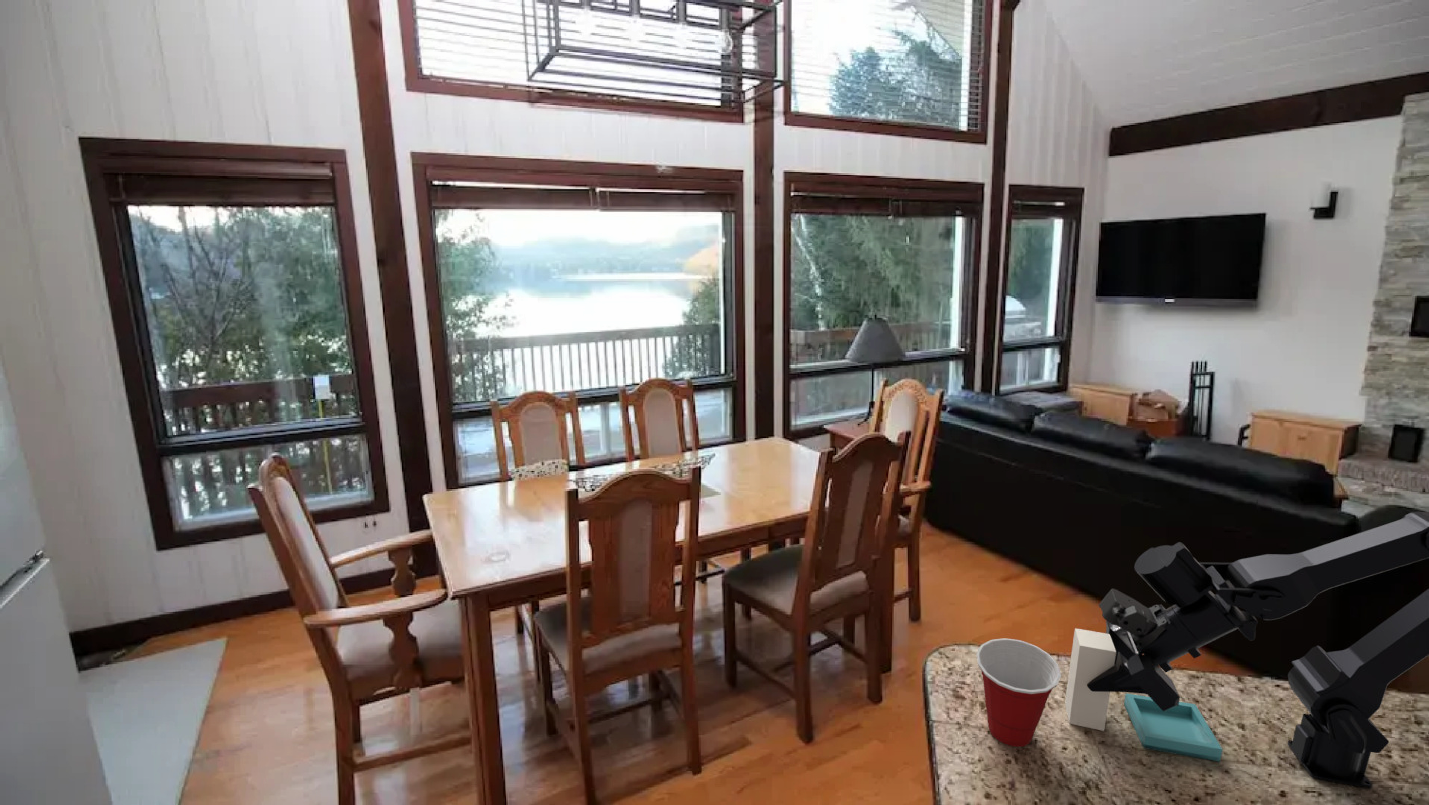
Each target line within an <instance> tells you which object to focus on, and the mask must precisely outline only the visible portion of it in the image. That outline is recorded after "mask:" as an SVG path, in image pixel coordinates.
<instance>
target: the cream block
mask: <svg viewBox="0 0 1429 805" xmlns="http://www.w3.org/2000/svg"><path fill="white" fill-rule="evenodd" d="M1115 656H1116V650H1115V647H1114V645H1113V642H1112V639H1111V636H1110V634H1106V632H1099V631H1094V630H1088V629H1081V628H1074V633H1073V641H1072V647H1071V656H1070V663H1069V671H1068V677H1067V678H1068V679H1067V686H1066V693H1065V698H1064V700H1065V701H1064V707H1065V710H1066V714H1067V720H1068V724H1070V725H1075V726H1079V727H1083V728H1088V729H1093V730H1098V731H1103V732H1105V727H1106V722H1107V714H1108V709H1109V708H1108V707H1109V701H1110V695H1111V692H1093V691H1091V690H1090V689H1089V688H1088V687H1087V684H1088V683H1089V682H1090V681H1092V680H1093V679H1094V678H1096V677H1097V676H1099V675H1100V674H1102V673H1103V672H1105V671H1106V670H1108V669H1109V668H1111V667H1113V666H1114V663H1115Z"/></svg>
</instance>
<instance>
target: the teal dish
mask: <svg viewBox="0 0 1429 805" xmlns="http://www.w3.org/2000/svg"><path fill="white" fill-rule="evenodd" d="M1123 706H1124V708H1125V710H1126V713H1127V715H1128V718H1129V720H1130V721H1131V724H1132V726H1133V728H1134V730H1135V732H1136V734H1137V736H1138V739H1139V741H1140V744H1141V746H1142V748H1143V749H1146V750H1151V751H1152V750H1153V751H1159V752H1164V753H1169V754H1175V755H1180V756H1185V757H1191V758H1197V759H1203V760H1207V761H1208V760H1209V761H1213V762H1218V763H1219V762H1221V759H1222V754H1223V748H1222V746H1221V744H1220V743H1219V741H1218V738H1216V736H1215V734H1214V732H1213V731H1212V729H1211V728H1210V726H1209V724H1208V723H1207V721H1206V719H1205V718H1204V716H1203V715H1202V713H1201V711H1200V710H1199V708H1198V707H1197V704H1196V703H1189V702H1183V701H1179V705H1178V706H1176V707H1174V708H1172V709H1170V710H1168V711H1166V712H1164V711H1162V710H1161V709H1160V707H1159V706H1158V705H1157V704H1156V703H1155V702H1154V701H1153V700H1152V699H1151V698H1150V697H1149V696H1146V695H1139V694H1135V693H1129V692H1125V695H1124V702H1123Z"/></svg>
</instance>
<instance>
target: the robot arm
mask: <svg viewBox="0 0 1429 805" xmlns="http://www.w3.org/2000/svg"><path fill="white" fill-rule="evenodd" d="M1427 559H1429V511H1428V512H1427V511H1412V512H1410V513H1408V514H1405V515H1403V517H1402V518H1401V519H1398V520H1396V521H1392V522H1389V523H1386V524H1384V525H1380V526H1378V527H1374V528H1371V529H1368V530H1364V531H1362V532H1359V533H1356V534H1353V535H1350V536H1348V537H1344V538H1341V539H1338V540H1335V541H1332V542H1330V543H1326V544H1323V545H1319V546H1317V547H1314V548H1310V549H1307V550H1305V551H1301V552H1298V553H1297V552H1296V553H1292V554H1277V553H1276V554H1271V553H1270V554H1269V553H1267V554H1261V555H1256V556H1251V557H1247V558H1245V557H1244V558H1241V559H1238V560H1235V561H1234V562H1208V561H1207V562H1201V561H1198V560H1197V559H1196V558H1195V557H1194V556H1193V554H1192V553H1191V552H1190V550H1189V549H1188V548H1187V547H1186V545H1185V544H1184V543H1182V542H1176V543H1175V544H1174V545H1168V544H1166V545H1165V544H1164V545H1159V546H1156V547H1150V548H1148V549H1147V550H1146V551H1144V552H1143V553H1142V554H1141V555H1140V556H1138V558H1137V559H1136V561H1135V563H1134V571H1135V572H1136V573H1137V574H1138V575H1139V576H1140V577H1141V578H1142V580H1144V581H1145V582H1146V583H1147V585H1148V586H1149V587H1150V588H1151V589H1153V591H1154V592H1155V593H1156V594H1157V595H1158V596H1159V597H1160V598H1161V599H1162V601H1163V602H1165V603H1166V604H1169V605H1172V606H1169V607H1168V608H1165V607H1164V606H1163V605H1162V604H1155V605H1152V606H1150V607H1147V606H1145V605H1143V604H1142V603H1141V602H1139V601H1137V600H1136V599H1134V598H1133V597H1131V596H1129V595H1127V594H1125V593H1123V592H1121V591H1119V590H1118V589H1116V588H1111V589H1110V590H1109V591H1108V592H1107V594H1106V595H1105V596H1104V597H1103V599H1102V600H1101V601H1100V603H1099V604H1098V607H1099V608H1100V609H1101V612H1102V613H1101V616H1102V618H1103V620H1105V628H1106V629H1105V633H1106V634H1110V636H1111V639H1112V642H1113V645H1114V647H1115V650H1116V656H1115V663H1114V666H1113V667H1111V668H1109V669H1108V670H1106V671H1105V672H1103V673H1102V674H1100V675H1099V676H1097V677H1096V678H1094V679H1093V680H1092V681H1090V682H1089V683H1088V684H1087V687H1088V688H1089V689H1090V690H1091V691H1093V692H1110V693H1129V694H1142V695H1147V697H1150V698H1151V699H1152V700H1153V701H1154V702H1155V703H1156V704H1157V705H1158V706H1159V707H1160V709H1161V710H1162V711H1164V712H1166V711H1168V710H1170V709H1172V708H1174V707H1176V706H1178V705H1179V702H1180V699H1181V696H1180V694H1179V692H1178V690H1177V688H1176V685H1175V683H1174V681H1173V679H1171V677H1170V676H1168V674H1167V672H1169V671H1171V670H1173V667H1172V665H1171V662H1173V661H1175V660H1178V659H1179V658H1181V657H1183V656H1185V655H1187V654H1189V655H1190V656H1191V657H1192V658H1193V659H1196V658H1198V657H1200V656H1202V653H1201V652H1200V650H1199V649H1200V648H1201V647H1203V646H1204V647H1205V645H1207V644H1210V643H1212V642H1213V641H1214V642H1215V641H1216V640H1218V639H1220V638H1221V637H1224V636H1225V635H1226V636H1227V635H1228V634H1230V633H1232V632H1234V631H1236V630H1237V629H1238V631H1240V633H1241V634H1243V636H1244V637H1245V638H1247V640H1249V641H1250V642H1251V641H1252V642H1253V641H1255V639H1256V627H1257V625H1258V622H1259V621H1258V620H1257V618H1259V619H1262V620H1264V621H1273V620H1279V619H1283V618H1284V617H1287V616H1289V615H1291V614H1293V613H1295V612H1297V611H1299V610H1302V609H1304V608H1305V607H1307V606H1309V605H1310V604H1311V603H1312V602H1313V600H1314V599H1316V597H1317V596H1318V595H1319V594H1321V593H1323V592H1325V591H1328V590H1330V589H1333V588H1336V587H1339V586H1342V585H1346V584H1349V583H1353V582H1356V581H1359V580H1362V579H1365V578H1368V577H1373V576H1375V575H1378V574H1381V573H1385V572H1388V571H1392V570H1395V569H1398V568H1400V567H1404V566H1408V565H1411V564H1413V563H1417V562H1420V561H1423V560H1427ZM1213 590H1214V591H1215V593H1216V594H1214V593H1213V592H1212V591H1213ZM1239 608H1240V609H1242V610H1240V609H1239ZM1243 610H1244V611H1243ZM1427 657H1429V588H1428V589H1425V591H1424V592H1422V593H1421V594H1419V595H1418V596H1417V597H1416V598H1414V599H1413V600H1412V601H1410V602H1409V603H1407V604H1406V605H1404V606H1403V607H1402V608H1401V609H1399V610H1398V611H1397V612H1395V613H1394V614H1393V615H1392V614H1391V616H1390V617H1388V618H1386V620H1384V621H1383V622H1381V623H1380V624H1379V625H1377V626H1376V627H1375V628H1374V629H1372V630H1371V631H1369V632H1368V633H1367V634H1365V635H1364V636H1363V637H1361V638H1360V639H1358V641H1356V642H1355V643H1353V644H1352V645H1350V646H1349V647H1347V648H1345V649H1343V650H1335V651H1328V652H1326V651H1325V650H1324V649H1323V648H1322V646H1320V645H1315V646H1313V647H1311V648H1310V649H1309V651H1308V652H1307V653H1306V654H1305V655H1303V656H1302V657H1300V658H1299V659H1296V660H1292V661H1291V664H1292V665H1293V667H1292V668H1291V669H1290V670H1289V671H1288V673H1287V677H1288V685H1289V687H1290V689H1291V691H1293V693H1294V695H1296V697H1297V698H1298V700H1299V701H1300V702H1301V704H1302V705H1303V706H1304V707H1305V709H1306V710H1307V711H1308V712H1309V714H1308V713H1303V714H1302V716H1301V721H1300V723H1297V724H1296V726H1295V729H1294V733H1293V738H1292V740H1288V741H1287V746H1288V747H1289V748H1290V750H1291V751H1292V753H1293V754H1294V755H1295V756H1296V758H1297V759H1298V761H1300V763H1301V765H1302V766H1303V768H1304V769H1305V770H1306V771H1307V773H1308V774H1309V775H1310V776H1311V777H1312V778H1313V779H1317V780H1322V781H1327V782H1331V783H1340V784H1342V785H1343V784H1345V785H1348V786H1349V785H1350V786H1355V787H1360V788H1367V789H1372V788H1373V785H1374V784H1373V782H1372V781H1371V780H1370V779H1369V777H1367V776H1366V772H1367V769H1368V765H1369V761H1370V758H1371V754H1372V753H1374V754H1380V753H1381V752H1382V751H1383V750H1384V749H1385V748H1386V746H1388V744H1389V743H1390V742H1389V739H1387V737H1386V736H1385V734H1383V733H1382V732H1381V730H1380V729H1379V728H1378V727H1377V726H1376V725H1375V724H1374V723H1373V721H1372V720H1371V717H1373V715H1374V714H1376V713H1377V711H1378V710H1380V708H1381V705H1382V702H1383V700H1384V697H1385V693H1386V691H1387V688H1388V685H1389V684H1390V683H1392V682H1393V681H1394V680H1395V679H1397V678H1398V677H1400V676H1401V675H1402V674H1404V673H1405V672H1407V671H1409V670H1410V669H1411V668H1412V667H1414V666H1415V665H1417V664H1418V663H1419V662H1421V661H1423V660H1424V659H1425V658H1427Z"/></svg>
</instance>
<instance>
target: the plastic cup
mask: <svg viewBox="0 0 1429 805" xmlns="http://www.w3.org/2000/svg"><path fill="white" fill-rule="evenodd" d="M975 655H976V659H977V660H976V661H977V666H978V668H979V669H980V671H981V675H982V681H983V691H984V702H985V709H986V715H987V716H986V717H987V725H988V728H989V732H990V733H991V735H992V737H993V738H995V739H997V741H998V742H1001V743H1003V744H1005V745H1007V746H1010V747H1014V748H1015V747H1016V748H1018V747H1019V748H1020V747H1026V746H1027V745H1029V744H1030V742H1032V740H1033V738H1034V735H1035V733H1036V729H1037V727H1038V725H1039V723H1040V720H1041V719H1042V718H1041V717H1042V715H1043V713H1044V709H1045V707H1046V704H1047V701H1048V699H1049V696H1050V694H1051V693H1052V691H1053V689H1054V688H1056V687H1057V686H1058V684H1059V683H1060V679H1061V677H1062V672H1061V668H1060V665H1059V664H1058V662H1057V661H1056V660H1055V659H1054V658H1053V657H1052V656H1051V655H1050V653H1049V652H1046V651H1045V650H1043V649H1042V648H1040V647H1039V646H1037V645H1034V644H1032V643H1030V642H1027V641H1023V640H1020V639H1013V638H1004V637H1003V638H996V639H995V638H994V639H990V640H989V641H986V642H984V643H982V644H981V645H980V646H979V648H978V649H977V652H976V654H975Z"/></svg>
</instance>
